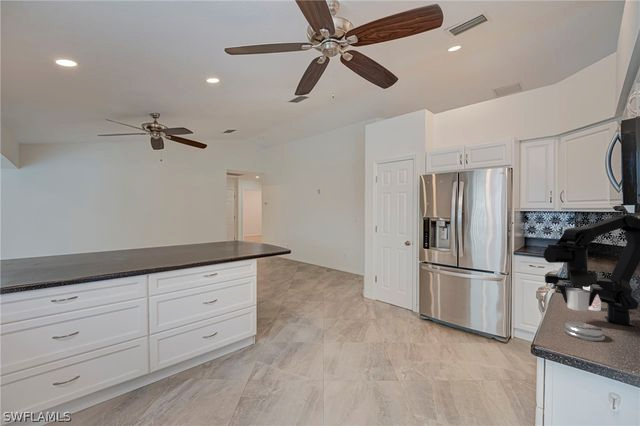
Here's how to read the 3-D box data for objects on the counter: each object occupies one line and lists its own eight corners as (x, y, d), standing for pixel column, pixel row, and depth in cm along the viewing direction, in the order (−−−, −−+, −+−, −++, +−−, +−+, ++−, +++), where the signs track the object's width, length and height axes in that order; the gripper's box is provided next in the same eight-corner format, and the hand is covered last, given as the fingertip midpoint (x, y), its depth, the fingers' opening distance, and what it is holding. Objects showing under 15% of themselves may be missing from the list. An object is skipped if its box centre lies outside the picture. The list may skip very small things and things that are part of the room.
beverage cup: (579, 306, 121) (579, 273, 122) (596, 307, 120) (596, 274, 120) (589, 310, 116) (588, 277, 116) (607, 312, 114) (606, 277, 114)
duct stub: (562, 326, 100) (562, 319, 100) (601, 333, 94) (601, 325, 94) (565, 336, 92) (565, 328, 92) (608, 344, 86) (608, 336, 86)
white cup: (590, 308, 104) (589, 289, 104) (591, 313, 99) (590, 293, 99) (565, 304, 108) (565, 286, 108) (565, 309, 103) (565, 290, 103)
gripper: (545, 263, 103) (546, 305, 103) (618, 268, 92) (619, 316, 91) (544, 259, 112) (545, 298, 112) (610, 263, 100) (611, 307, 100)
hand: (577, 304), depth 104 cm, fingers closed on white cup, 6 cm apart
